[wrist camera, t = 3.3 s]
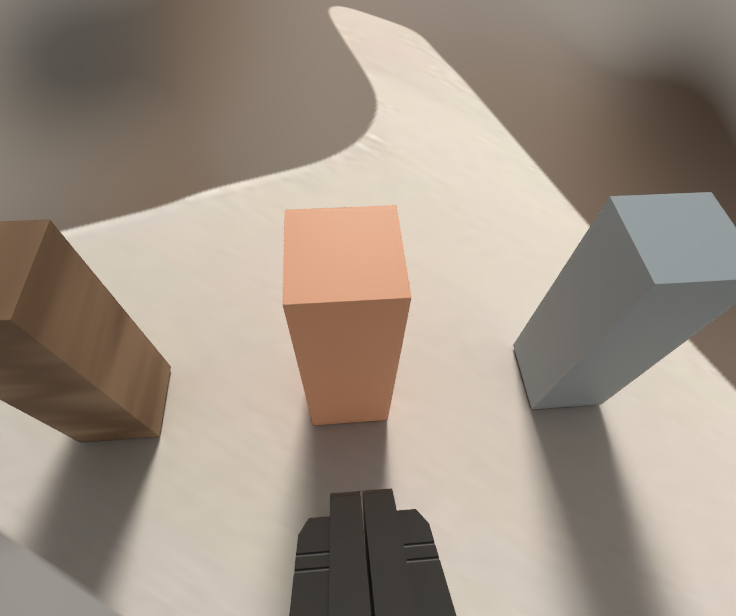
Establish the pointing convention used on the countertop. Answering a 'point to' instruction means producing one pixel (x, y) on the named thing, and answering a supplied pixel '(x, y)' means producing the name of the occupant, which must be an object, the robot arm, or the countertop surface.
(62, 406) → the walnut pillar
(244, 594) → the countertop surface
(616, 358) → the slate pillar
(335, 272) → the terracotta pillar
